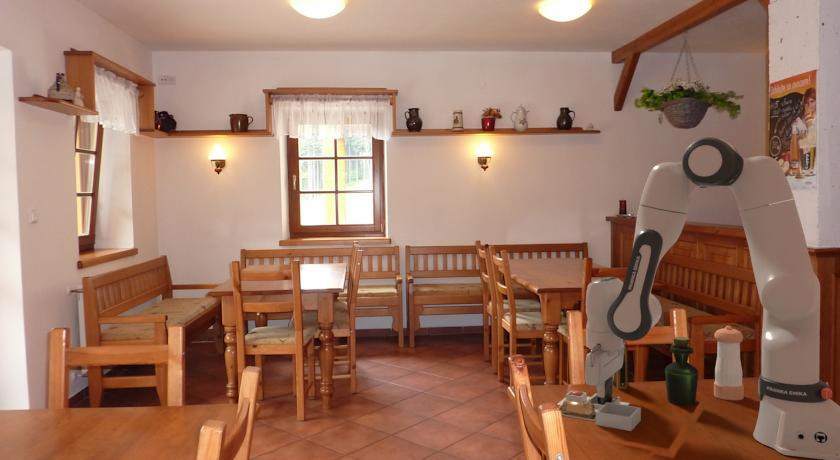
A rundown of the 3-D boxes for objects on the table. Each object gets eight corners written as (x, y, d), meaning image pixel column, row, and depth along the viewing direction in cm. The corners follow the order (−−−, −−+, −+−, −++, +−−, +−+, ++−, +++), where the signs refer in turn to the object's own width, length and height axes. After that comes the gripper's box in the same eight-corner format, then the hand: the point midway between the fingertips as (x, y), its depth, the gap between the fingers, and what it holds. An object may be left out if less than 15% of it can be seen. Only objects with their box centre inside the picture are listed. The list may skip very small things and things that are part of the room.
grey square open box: (640, 426, 152) (640, 407, 152) (631, 437, 145) (631, 418, 145) (606, 420, 157) (606, 402, 156) (595, 430, 150) (595, 412, 150)
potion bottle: (669, 400, 170) (668, 333, 169) (701, 405, 166) (701, 336, 165) (661, 408, 164) (660, 339, 163) (694, 414, 159) (694, 343, 158)
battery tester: (629, 408, 164) (629, 395, 164) (618, 420, 156) (618, 406, 156) (570, 399, 173) (570, 386, 173) (556, 410, 165) (556, 396, 165)
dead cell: (614, 404, 163) (614, 374, 163) (610, 408, 160) (609, 378, 160) (600, 401, 165) (599, 373, 165) (595, 406, 162) (594, 376, 162)
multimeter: (658, 398, 172) (657, 325, 171) (621, 398, 172) (620, 326, 171) (640, 382, 187) (640, 314, 186) (606, 383, 187) (605, 315, 186)
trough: (603, 419, 157) (603, 412, 157) (595, 427, 152) (595, 420, 152) (560, 411, 163) (560, 405, 163) (551, 419, 158) (550, 412, 158)
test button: (583, 398, 167) (583, 391, 167) (579, 401, 165) (579, 394, 165) (573, 396, 169) (572, 389, 169) (569, 399, 166) (569, 392, 166)
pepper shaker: (708, 393, 175) (708, 324, 174) (733, 391, 176) (733, 323, 175) (723, 401, 168) (723, 329, 167) (749, 399, 169) (749, 328, 168)
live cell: (594, 417, 157) (594, 402, 157) (589, 422, 154) (589, 406, 154) (565, 412, 161) (565, 397, 161) (559, 416, 158) (559, 401, 158)
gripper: (603, 350, 151) (604, 407, 152) (627, 333, 168) (628, 385, 169) (577, 347, 155) (578, 403, 156) (604, 331, 172) (605, 382, 173)
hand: (605, 393), depth 162 cm, fingers closed on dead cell, 4 cm apart
